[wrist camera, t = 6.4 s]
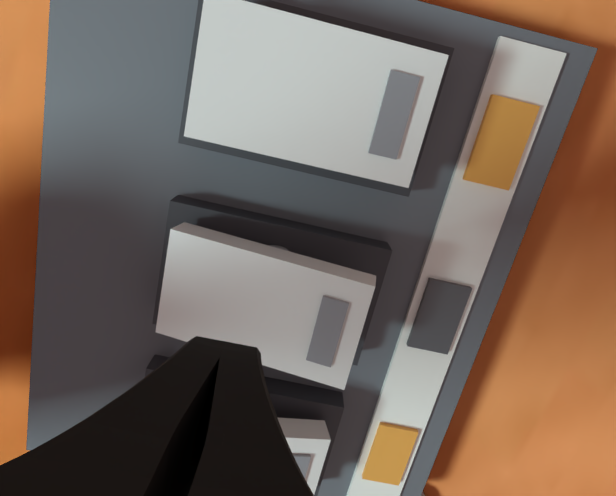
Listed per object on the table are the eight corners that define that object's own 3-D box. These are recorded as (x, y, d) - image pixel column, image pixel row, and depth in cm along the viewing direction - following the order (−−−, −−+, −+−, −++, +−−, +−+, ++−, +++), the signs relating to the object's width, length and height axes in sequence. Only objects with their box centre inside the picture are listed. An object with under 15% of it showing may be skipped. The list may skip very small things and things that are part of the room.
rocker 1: (169, 319, 16) (153, 333, 15) (184, 222, 15) (168, 229, 14) (347, 373, 15) (343, 392, 14) (376, 275, 14) (375, 288, 13)
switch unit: (52, 417, 21) (0, 481, 17) (87, -72, 15) (19, -125, 11) (402, 483, 22) (420, 555, 19) (563, 55, 16) (634, 41, 13)
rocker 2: (191, 133, 13) (182, 136, 12) (211, -2, 12) (204, -11, 11) (400, 182, 14) (409, 188, 13) (436, 58, 13) (450, 54, 12)
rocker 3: (136, 489, 17) (130, 517, 15) (148, 409, 15) (143, 432, 14) (303, 493, 18) (308, 517, 17) (324, 420, 17) (331, 442, 16)
